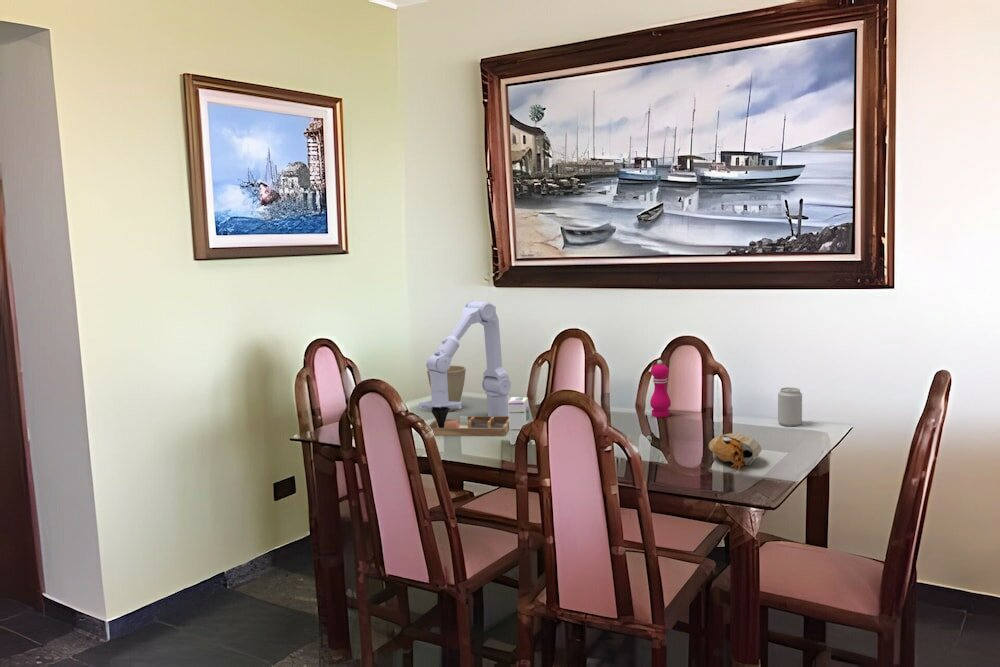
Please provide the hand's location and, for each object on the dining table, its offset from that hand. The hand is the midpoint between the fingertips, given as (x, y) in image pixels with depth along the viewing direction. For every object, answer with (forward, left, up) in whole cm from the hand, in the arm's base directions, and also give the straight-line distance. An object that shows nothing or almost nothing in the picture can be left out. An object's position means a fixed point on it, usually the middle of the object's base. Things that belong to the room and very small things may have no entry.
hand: (441, 428), depth 275 cm
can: (-13, +116, -2) cm, 117 cm away
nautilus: (+31, +93, -2) cm, 98 cm away
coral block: (0, +4, -1) cm, 4 cm away
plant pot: (-34, -6, -2) cm, 35 cm away
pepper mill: (-25, +74, -2) cm, 78 cm away
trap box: (-3, +10, -2) cm, 10 cm away
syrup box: (+11, +29, -2) cm, 31 cm away
